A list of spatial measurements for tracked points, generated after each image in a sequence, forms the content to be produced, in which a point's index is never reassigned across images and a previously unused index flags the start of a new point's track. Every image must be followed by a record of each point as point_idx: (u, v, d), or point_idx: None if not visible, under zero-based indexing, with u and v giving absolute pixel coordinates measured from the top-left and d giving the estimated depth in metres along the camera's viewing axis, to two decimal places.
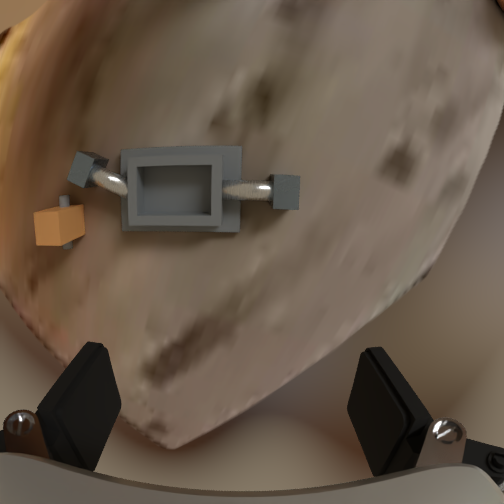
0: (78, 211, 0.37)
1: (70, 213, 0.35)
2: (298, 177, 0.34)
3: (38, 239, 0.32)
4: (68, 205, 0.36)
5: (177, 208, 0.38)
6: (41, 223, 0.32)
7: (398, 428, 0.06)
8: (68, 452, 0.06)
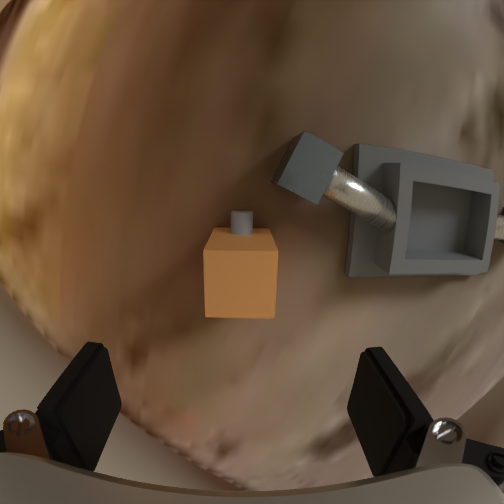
0: None
1: None
2: None
3: (211, 305, 0.19)
4: (252, 231, 0.23)
5: (429, 245, 0.24)
6: (226, 274, 0.18)
7: (398, 428, 0.06)
8: (68, 452, 0.06)
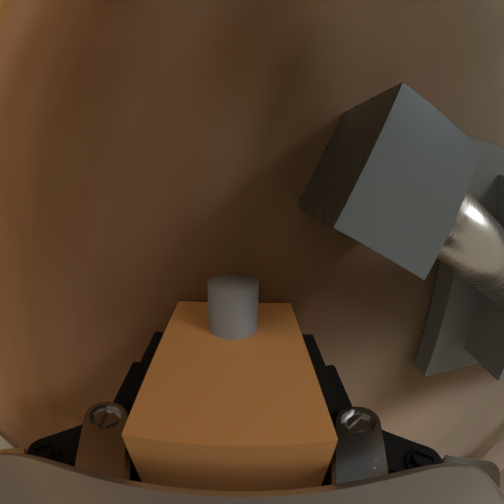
0: None
1: None
2: None
3: None
4: (256, 324, 0.10)
5: None
6: (193, 479, 0.05)
7: None
8: None
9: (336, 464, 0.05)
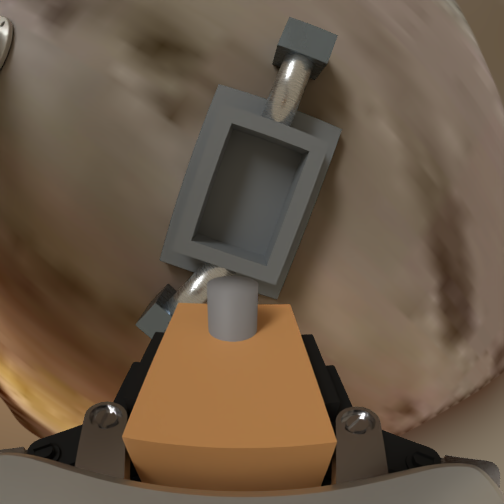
0: None
1: None
2: (291, 19, 0.18)
3: None
4: (256, 326, 0.10)
5: (277, 204, 0.25)
6: (194, 480, 0.05)
7: None
8: None
9: (336, 464, 0.05)
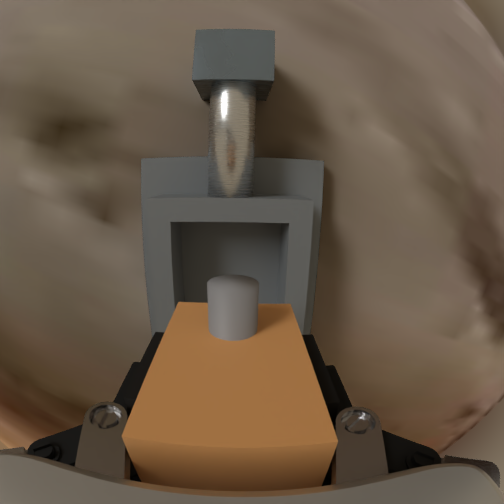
0: None
1: None
2: (199, 32, 0.12)
3: None
4: (256, 325, 0.10)
5: (270, 288, 0.19)
6: (193, 480, 0.05)
7: None
8: None
9: (336, 464, 0.05)
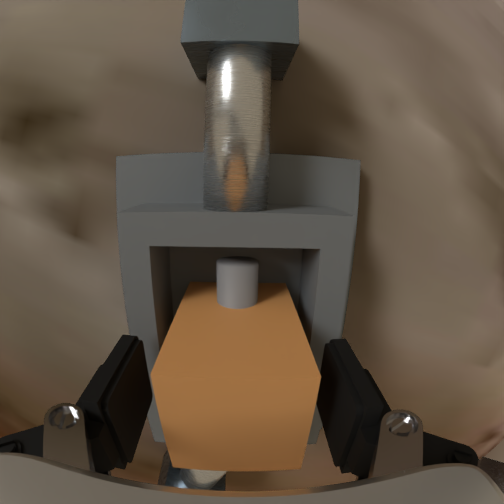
0: None
1: None
2: None
3: (182, 455, 0.08)
4: (256, 297, 0.12)
5: None
6: (205, 416, 0.07)
7: (353, 417, 0.07)
8: (110, 444, 0.07)
9: (388, 467, 0.05)
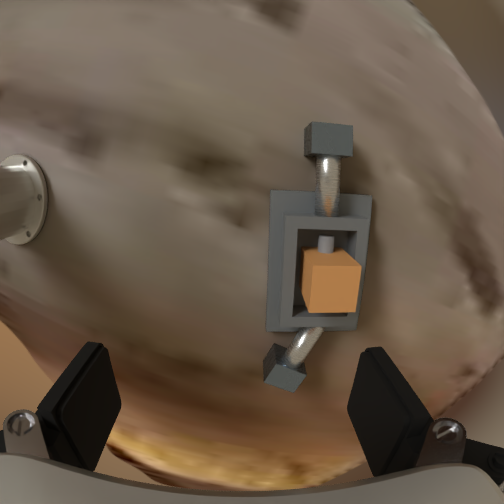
0: None
1: None
2: (313, 123, 0.26)
3: (314, 304, 0.26)
4: (333, 250, 0.30)
5: None
6: (327, 281, 0.26)
7: (398, 428, 0.06)
8: (68, 452, 0.06)
9: None
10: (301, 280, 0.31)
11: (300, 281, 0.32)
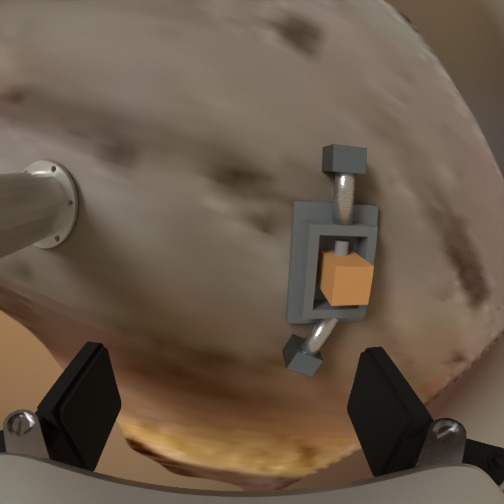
0: None
1: None
2: (335, 146, 0.31)
3: (336, 298, 0.31)
4: None
5: None
6: (346, 279, 0.31)
7: (398, 428, 0.06)
8: (68, 452, 0.06)
9: None
10: (320, 278, 0.36)
11: (318, 279, 0.37)
